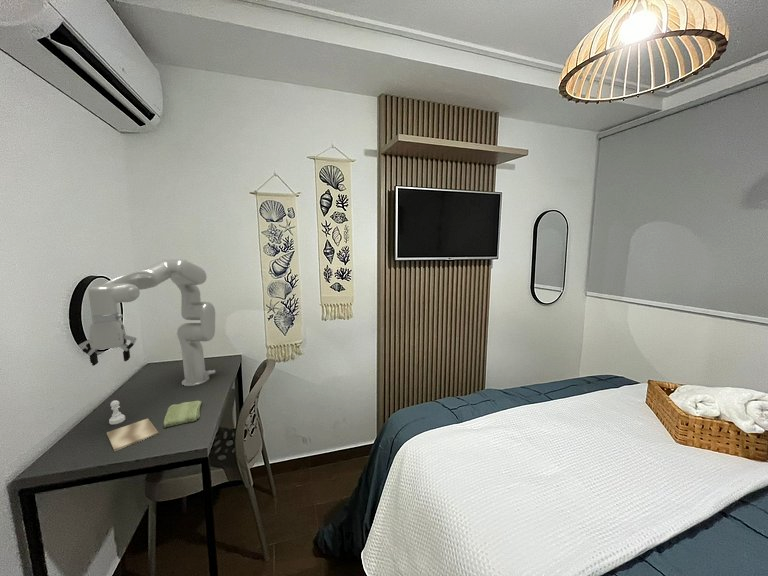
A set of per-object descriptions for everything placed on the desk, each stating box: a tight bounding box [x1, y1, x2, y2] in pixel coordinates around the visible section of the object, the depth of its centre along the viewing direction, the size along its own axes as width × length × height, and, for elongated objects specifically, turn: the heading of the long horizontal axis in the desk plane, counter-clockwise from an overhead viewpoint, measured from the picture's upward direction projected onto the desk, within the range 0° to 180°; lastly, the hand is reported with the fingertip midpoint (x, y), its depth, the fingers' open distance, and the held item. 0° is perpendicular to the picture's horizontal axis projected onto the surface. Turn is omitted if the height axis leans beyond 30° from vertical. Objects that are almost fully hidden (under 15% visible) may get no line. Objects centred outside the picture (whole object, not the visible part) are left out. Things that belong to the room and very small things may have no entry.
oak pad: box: [106, 417, 160, 452], centre depth 120 cm, size 13×16×1 cm
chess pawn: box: [108, 400, 126, 425], centre depth 129 cm, size 5×5×9 cm
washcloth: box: [163, 400, 203, 428], centre depth 133 cm, size 13×18×3 cm
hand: (111, 362), depth 122 cm, fingers open, 9 cm apart
